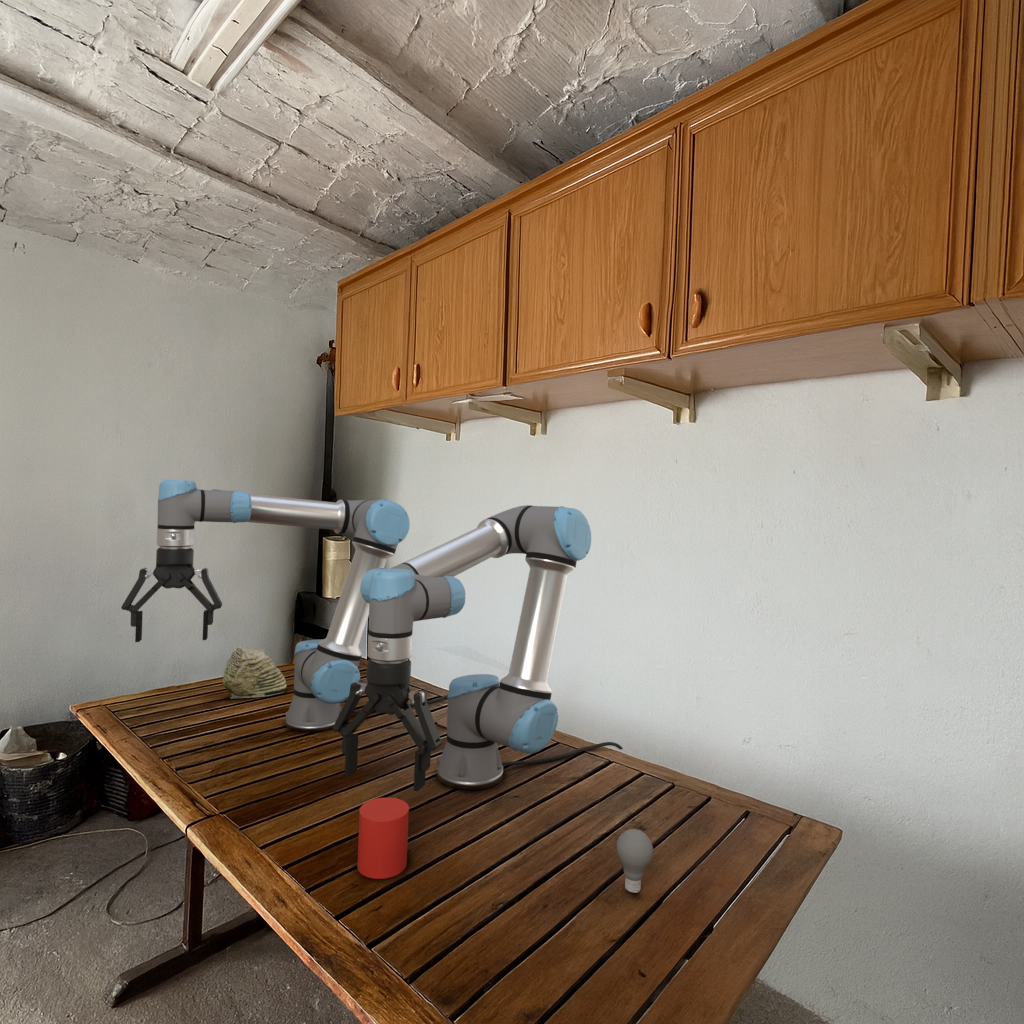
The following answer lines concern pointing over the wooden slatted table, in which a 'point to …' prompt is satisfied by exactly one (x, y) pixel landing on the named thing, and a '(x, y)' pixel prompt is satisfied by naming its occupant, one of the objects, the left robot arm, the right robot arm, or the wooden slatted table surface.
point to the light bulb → (634, 857)
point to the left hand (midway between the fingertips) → (172, 640)
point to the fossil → (252, 674)
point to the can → (383, 837)
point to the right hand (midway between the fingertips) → (384, 780)
